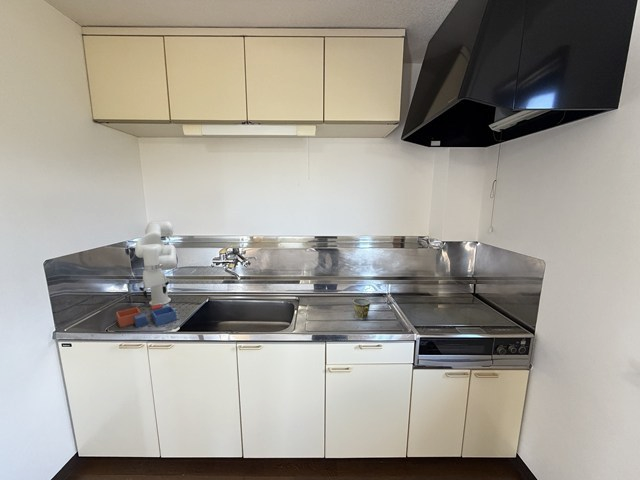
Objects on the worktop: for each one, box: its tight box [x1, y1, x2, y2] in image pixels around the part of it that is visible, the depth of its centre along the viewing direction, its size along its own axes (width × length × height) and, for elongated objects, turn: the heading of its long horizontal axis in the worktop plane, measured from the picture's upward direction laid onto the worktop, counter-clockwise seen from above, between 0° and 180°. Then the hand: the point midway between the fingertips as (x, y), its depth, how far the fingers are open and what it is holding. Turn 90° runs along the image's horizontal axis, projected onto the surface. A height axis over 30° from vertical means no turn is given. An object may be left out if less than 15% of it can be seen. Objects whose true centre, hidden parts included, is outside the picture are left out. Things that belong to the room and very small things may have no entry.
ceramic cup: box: [352, 297, 371, 321], centre depth 158 cm, size 13×10×10 cm
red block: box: [150, 304, 164, 312], centre depth 164 cm, size 5×5×5 cm
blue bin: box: [150, 305, 177, 327], centre depth 157 cm, size 10×10×6 cm
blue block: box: [134, 313, 148, 328], centre depth 151 cm, size 5×5×5 cm
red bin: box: [115, 306, 142, 328], centre depth 155 cm, size 10×10×6 cm
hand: (155, 295), depth 162 cm, fingers open, 9 cm apart
